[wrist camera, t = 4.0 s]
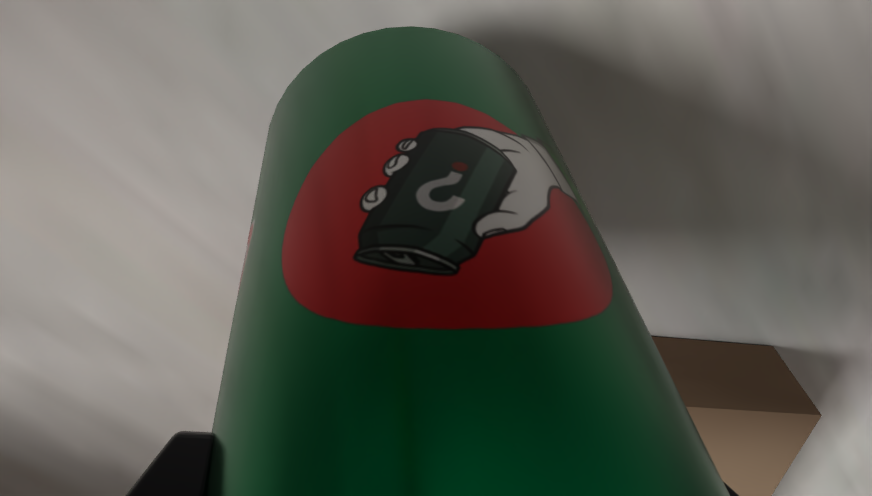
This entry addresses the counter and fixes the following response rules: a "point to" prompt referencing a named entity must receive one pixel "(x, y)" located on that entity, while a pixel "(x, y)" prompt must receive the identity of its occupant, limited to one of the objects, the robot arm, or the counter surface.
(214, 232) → the counter surface
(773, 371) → the walnut base
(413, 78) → the soda can
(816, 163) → the counter surface
